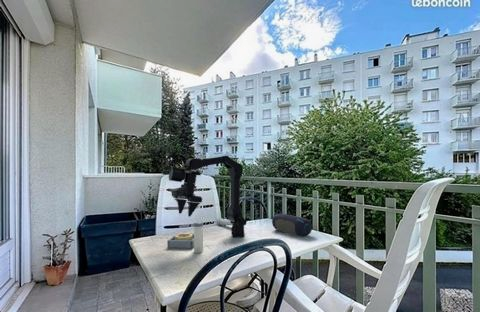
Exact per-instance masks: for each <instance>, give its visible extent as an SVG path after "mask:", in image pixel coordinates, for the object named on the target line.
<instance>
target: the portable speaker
mask: <svg viewBox="0 0 480 312" xmlns="http://www.w3.org/2000/svg"><path fill="white" fill-rule="evenodd" d="M271 223H272V226H273V228H274V229H275V230H276V231H279V232H284V233H287V234H290V235H295V236H298V237H307V236H308V235H310V234H311V233H312V230H313V223H312V222H311V221H310V219H308V218H306V217H302V216H296V215H291V214H286V213H280V212H279V213H276V214H274V215H273V217H272V219H271Z"/></svg>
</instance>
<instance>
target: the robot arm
mask: <svg viewBox="0 0 480 312" xmlns="http://www.w3.org/2000/svg"><path fill="white" fill-rule="evenodd" d="M220 164H223V166H224V168H226V169H227V171H228V175H229V178H230V207H229V208H226V211H227V213H226V216H227V218H228V219H227V220H230V222H231V224H233V225H231V227H230V228H231V231H230V232H231V237H233V238H244V237H245V235H246V233H245V226H247V222H248V221H247V220H246V219H245V218H244V216H243V210H242V208H241V206H240V205H241V203H240V200H241V199H240V198H241V193H240V192H241V191H240V187H241V186H240V185H241V183H240V181H241V178H242V176H243V171H244V166H243V165H242V164H241V163H238V162H237V161H236V160H234V159H232V158H231V157H229V155H221V156H216V157H209V158H197V157H195V158H189V159H187V160H186V161H185V164H184V165H183V166H182V167H177V166H171V169H170V171H169V174H168V180H169V181H171V182H176V183H177V182H179V183H181V185H180V187H177V188H173V189H171V191H170V192H171V197H172V198H174V200H175V201H176V203H177V209H178V214H179V215H181V214H182V213H183V211H184V209H185V206H186V204H187V205H188V210H187V212H188V213H187V215H188V217H192V215H193V213H194V212H195V210H196V209H197V208H198V206H199V205H200V204H201V203H202V202H203V197H202V196H200V195H196V194H195V189H197V188H198V187H197V186H196V182H197V176H201V175H202V174H201V173H200V171H199V169H202V168H204V167H207V166H212V165H220ZM182 182H183V184H182Z"/></svg>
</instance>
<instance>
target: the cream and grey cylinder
mask: <svg viewBox="0 0 480 312" xmlns="http://www.w3.org/2000/svg"><path fill="white" fill-rule="evenodd" d="M193 234H194V247H193V253H195V254H201V253H203V252H204V222H198V221H197V222H193Z"/></svg>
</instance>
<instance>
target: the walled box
mask: <svg viewBox="0 0 480 312" xmlns="http://www.w3.org/2000/svg"><path fill="white" fill-rule="evenodd" d="M166 249H186V250H188V249H192V250H193V249H194V233H193V234H192V233H188V232H186V233H184V232H183V233H177V234H174V235H173V236H171V238H169V239H168V240H167V248H166Z"/></svg>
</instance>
